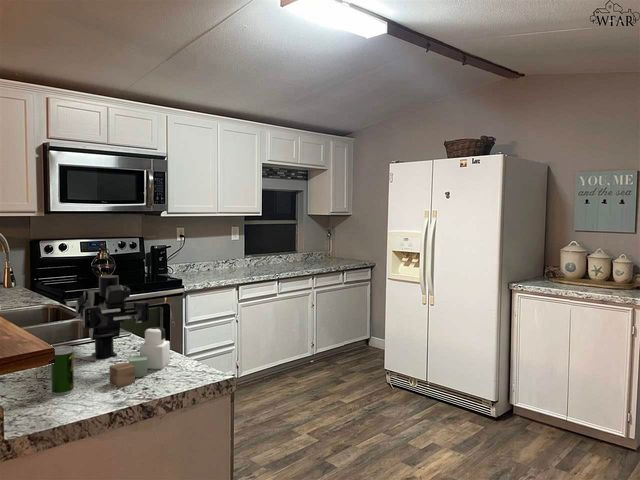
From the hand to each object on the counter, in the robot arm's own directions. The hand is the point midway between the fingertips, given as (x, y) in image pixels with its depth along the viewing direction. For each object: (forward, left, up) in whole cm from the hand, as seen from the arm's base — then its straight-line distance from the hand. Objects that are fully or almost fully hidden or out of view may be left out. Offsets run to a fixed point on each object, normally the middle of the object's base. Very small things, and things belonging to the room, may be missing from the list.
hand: (124, 320), depth 146 cm
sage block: (0, +4, -17) cm, 17 cm away
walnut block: (+5, -2, -17) cm, 18 cm away
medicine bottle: (-5, +11, -17) cm, 21 cm away
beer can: (+3, -17, -17) cm, 24 cm away
